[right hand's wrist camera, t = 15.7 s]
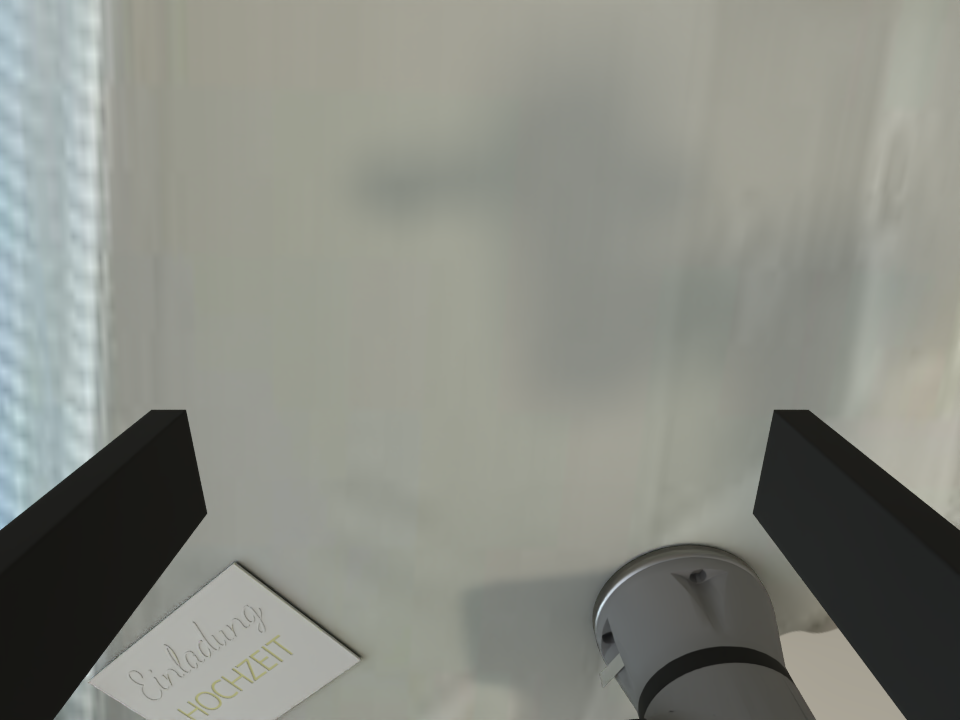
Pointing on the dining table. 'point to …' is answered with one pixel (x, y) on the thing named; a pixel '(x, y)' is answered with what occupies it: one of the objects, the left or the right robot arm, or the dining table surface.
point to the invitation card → (226, 657)
